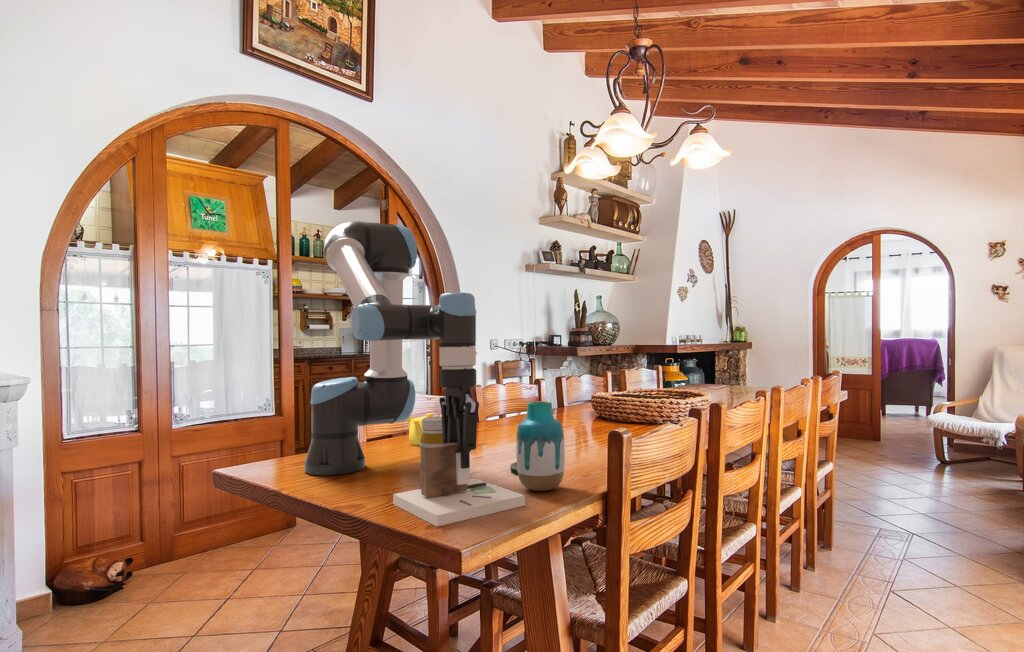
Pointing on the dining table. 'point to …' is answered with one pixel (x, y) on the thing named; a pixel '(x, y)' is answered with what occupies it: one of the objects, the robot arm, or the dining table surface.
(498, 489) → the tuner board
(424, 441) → the bottle
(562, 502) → the dining table surface
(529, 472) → the vase
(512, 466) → the log
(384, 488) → the dining table surface
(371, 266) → the robot arm
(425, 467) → the brown wooden block
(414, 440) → the teapot
